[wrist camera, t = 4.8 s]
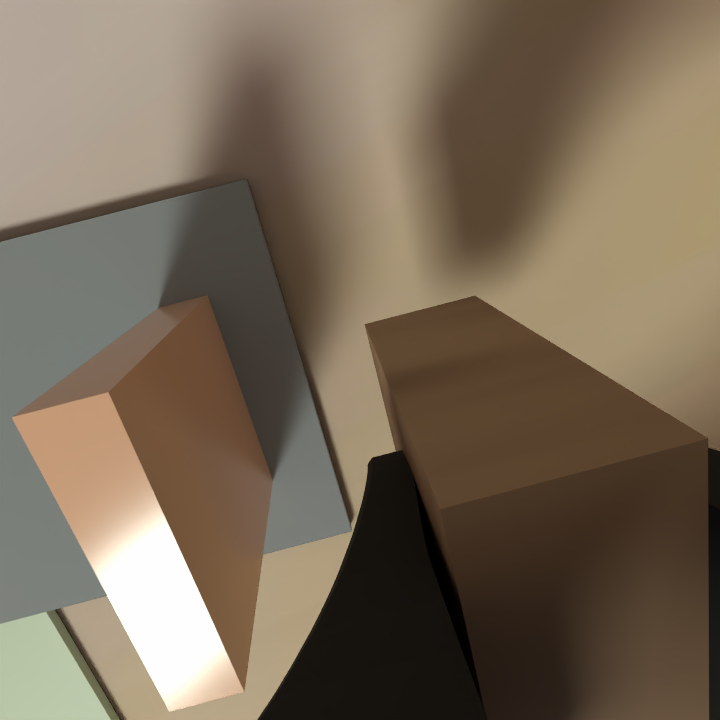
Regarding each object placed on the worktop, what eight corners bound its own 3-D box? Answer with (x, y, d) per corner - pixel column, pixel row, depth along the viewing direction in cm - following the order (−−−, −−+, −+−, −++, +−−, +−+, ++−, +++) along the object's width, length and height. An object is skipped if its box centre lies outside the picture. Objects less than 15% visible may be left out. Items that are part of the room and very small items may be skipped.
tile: (272, 480, 18) (244, 691, 10) (227, 492, 18) (165, 712, 10) (207, 295, 15) (108, 392, 8) (154, 308, 15) (5, 419, 8)
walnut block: (505, 479, 13) (709, 777, 6) (409, 504, 13) (511, 831, 6) (474, 295, 11) (708, 439, 5) (364, 323, 11) (440, 509, 5)
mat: (350, 524, 19) (351, 531, 19) (1, 616, 19) (-6, 625, 19) (247, 179, 15) (245, 178, 14) (-207, 295, 15) (-220, 298, 14)
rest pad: (126, 731, 22) (124, 741, 21) (-29, 773, 22) (-35, 783, 21) (45, 593, 19) (39, 601, 19) (-133, 640, 19) (-142, 650, 18)
